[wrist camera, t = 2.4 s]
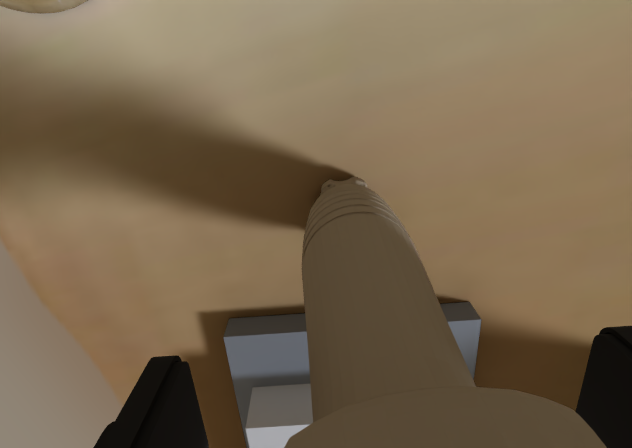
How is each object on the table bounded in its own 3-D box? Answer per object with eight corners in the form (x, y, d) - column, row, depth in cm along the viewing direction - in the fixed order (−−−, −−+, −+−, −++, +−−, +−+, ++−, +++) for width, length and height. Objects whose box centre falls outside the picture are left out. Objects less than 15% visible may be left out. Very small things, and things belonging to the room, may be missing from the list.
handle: (303, 270, 19) (291, 785, 6) (283, 146, 17) (172, 531, 3) (397, 259, 19) (622, 760, 5) (391, 132, 17) (787, 470, 3)
